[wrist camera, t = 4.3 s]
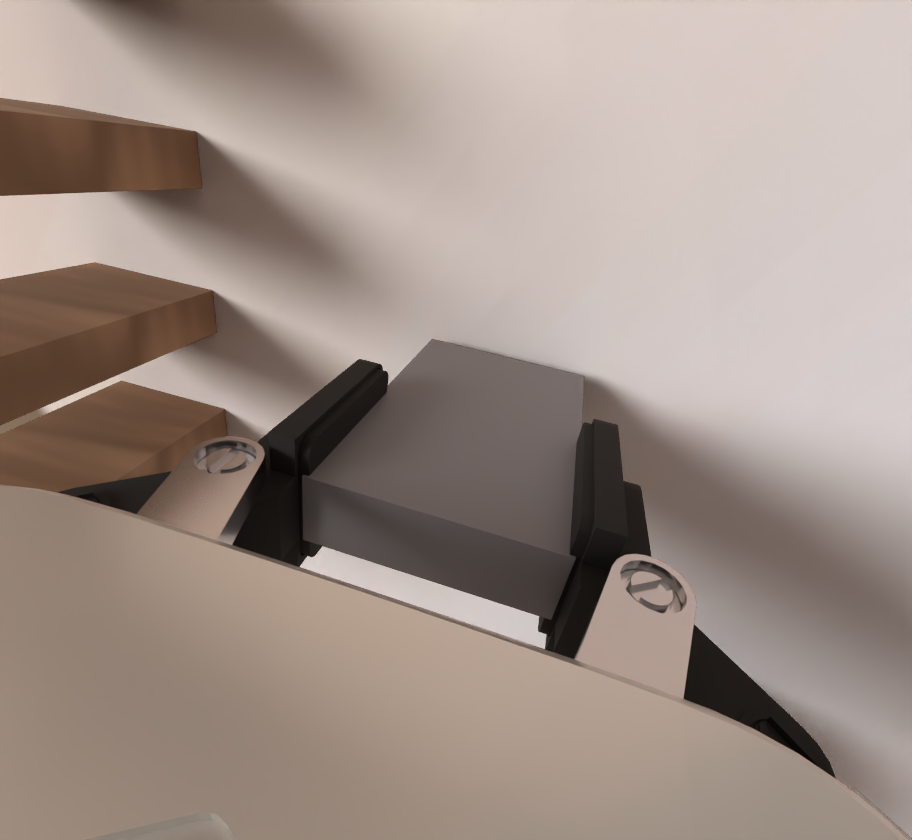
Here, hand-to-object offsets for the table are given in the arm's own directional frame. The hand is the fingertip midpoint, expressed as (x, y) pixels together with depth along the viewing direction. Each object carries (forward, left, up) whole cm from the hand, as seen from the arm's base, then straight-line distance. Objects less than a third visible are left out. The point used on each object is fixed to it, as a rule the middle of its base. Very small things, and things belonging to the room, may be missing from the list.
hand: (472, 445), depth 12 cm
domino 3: (+13, +5, -5) cm, 15 cm away
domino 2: (+13, 0, -5) cm, 14 cm away
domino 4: (0, 0, -4) cm, 4 cm away
